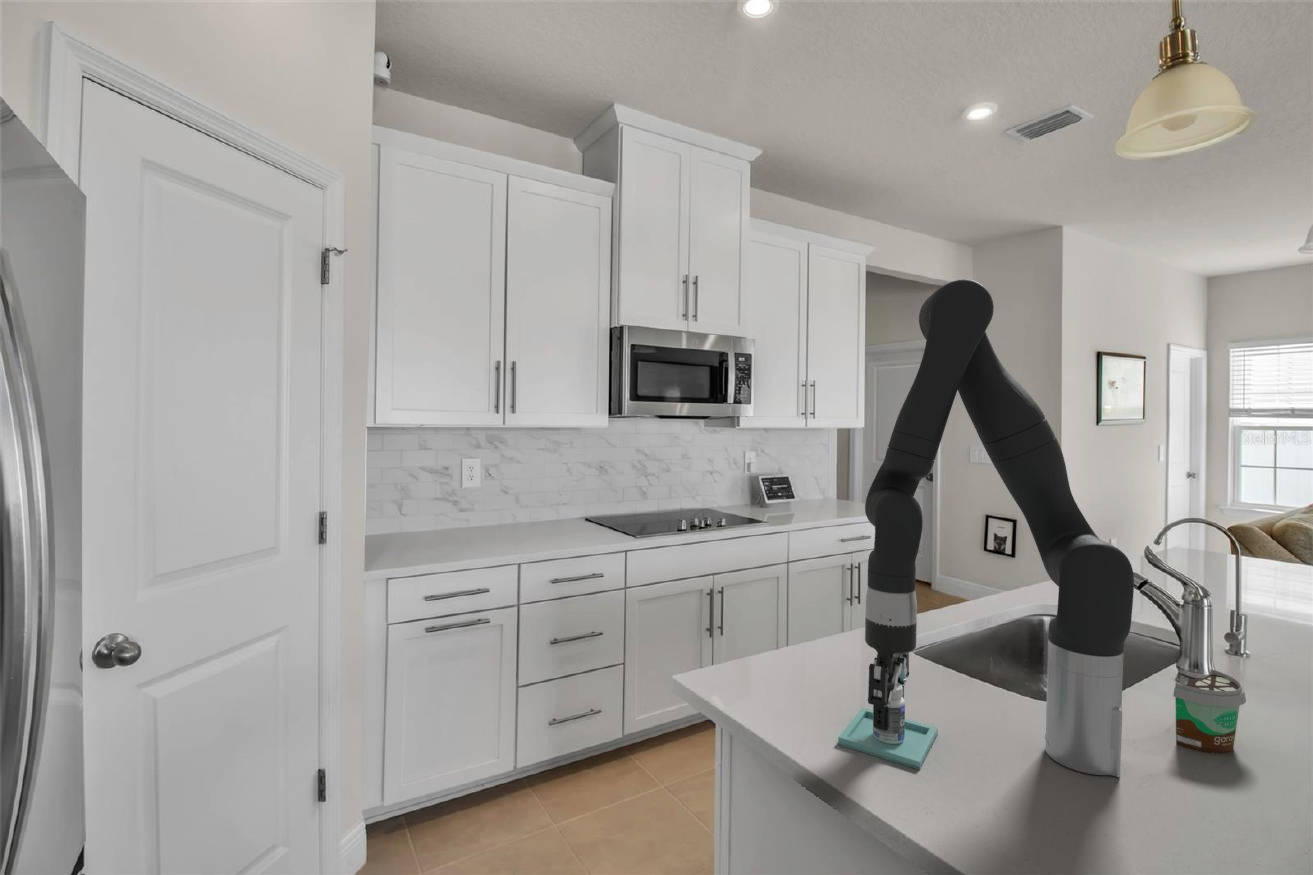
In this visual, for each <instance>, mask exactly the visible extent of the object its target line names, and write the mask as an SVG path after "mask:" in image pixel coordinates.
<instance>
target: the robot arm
mask: <svg viewBox="0 0 1313 875" xmlns="http://www.w3.org/2000/svg"><path fill="white" fill-rule="evenodd" d="M994 306H995V305H994V300H993V297H992V294H991V293H990V291H989V290H988V289H987V288H986V287H985V286H984V285H983V284H981V283H980V282H978V281H976V280H972V279H966V278H965V279H956V280H953V281H950V282H948V283H945V284H944V285H942V286H940V287H939V288H937V289H936V290H935V291H934V292H933V293H931V295H930V296H929V297H927V299H925V301H924V303H923V304H922V305H921V307H920V310H919V313H918V314H919V315H918V325H919V329H920V332H921V334H922V336H923V337H924V339H925V340H926V342H925V347H924V351H923V355H922V358H921V363H920V365H919V368H918V371H917V374H915V378H914V381H913V382H912V385H911V387H910V388H909V389H910V390H909V391H908V393H907V396H906V397H905V399H904V402H903V404H902V406H901V408H900V410H899V413H898V415H897V417H896V418H897V419H896V421H895V424H894V426H893V430H892V433H891V435H890V439H889V442H888V444H887V448H886V452H885V457H884V459H883V462H882V464H881V465H880V467H879V469H878V471H877V473H876V475H875V476H874V479H873V481H872V483H871V485H870V486H869V489H868V492H867V496H866V499H865V505H864V513H865V516H866V518H867V520H868V522H869V523H870V524H871V525H872V526H874V542H873V544H874V545H873V550H872V551H870V553H869V556H868V561H867V590H866V596H865V612H864V613H865V618H864V619H865V621H864V622H865V624H864V625H865V628H864V629H865V631H864V633H865V634H864V641H865V643H866V645H867V646H869V647H870V648H872V649H874V650H875V651H876V653H877V655H876V656H875V657H874V660H873V662H872V663H870V664H869V666H868V689H867V690H868V692H867V695H868V696H867V702H868V704H869V705H872V706H873V705H874V709H873V708H872V710H873V725H874V727H875V728H877V729H881V730H884V731H887V730H888V729H889V717H890V703H891V702H890V701H891V695H892V693H895V692H896V687H897V682H898V683H899V684H901V685H902V687H903V695H902V697H903V699H904V700H905V685H906V683H907V678H909V676H910V653H912V652H914V650H916V648H917V624H918V623H917V622H918V621H917V618H918V617H917V615H918V614H917V613H918V603H917V594H916V575H917V574H916V571H917V570H916V569H917V568H916V565H917V564H916V561H917V557H918V554H919V551H920V544H921V540H922V533H923V523H924V521H923V520H924V519H923V510H922V507H921V505H920V502H919V501H918V500H917V499H916V497H914V496H915V493H916V492H917V489H918V486H919V484H920V482H921V480H922V479H924V478H926V477H928V476H929V474H930V473H931V471H932V469H933V466H934V464H935V460H936V458H937V455H938V451H939V448H940V446H941V445H940V444H941V443H942V439H943V435H944V432H945V429H946V426H947V424H948V420H949V416H950V413H951V411H952V407H953V404H954V401H955V398H956V396H957V392H958V395H959V397H960V399H961V401H962V403H963V405H964V408H965V411H966V412H967V414H968V416H969V419H970V420H971V422H972V425H973V426H974V428H975V431H976V433H977V436H978V438H979V440H980V441H981V443H982V446H983V448H984V450H985V452H986V453H987V455H988V458H989V459H990V461H991V463H992V465H993V467H994V468H995V470H996V471H997V473H998V475H999V476H1000V478H1001V480H1002V482H1003V483H1004V486H1005V487H1006V489H1007V490H1008V492H1009V494H1010V495H1011V497H1012V499H1013V500H1014V502H1015V503H1016V504H1017V506H1018V508H1019V509H1020V511H1021V513H1022V515H1023V517H1024V518H1025V521H1026V523H1027V526H1028V527H1029V529H1030V530H1029V531H1030V532H1031V535H1032V538H1033V540H1034V542H1035V546H1036V548H1037V550H1038V551H1037V552H1038V553H1039V556H1040V559H1041V561H1042V563H1043V566H1044V569H1045V571H1046V573H1047V575H1048V577H1049V579H1051V581H1052V582H1053V583H1054V584H1055V585H1056V586H1058V595H1057V611H1056V612H1057V613H1056V616H1055V617H1054V618H1052V619H1051V620H1050V621H1049V624H1048V634H1047V635H1048V636H1047V637H1048V640H1047V642H1048V644H1047V673H1046V674H1047V675H1046V676H1047V677H1046V706H1045V709H1046V712H1045V734H1044V735H1045V736H1044V740H1045V746H1044V747H1045V748H1044V749H1045V752H1046V754H1047V755H1048V756H1049V757H1050V758H1051V759H1052V760H1053V761H1055V762H1056V763H1059V764H1060V765H1061V766H1064V767H1066V768H1069V769H1071V770H1074V771H1076V772H1080V773H1084V774H1089V775H1095V776H1096V775H1097V776H1113V777H1116V778H1120V777H1121V762H1122V734H1123V733H1122V732H1123V729H1122V728H1123V706H1122V705H1123V704H1122V703H1123V702H1122V700H1123V678H1124V675H1123V674H1124V672H1123V671H1124V650H1125V641H1126V640H1127V637H1128V636H1129V634H1130V631H1131V626H1132V615H1133V603H1134V593H1135V592H1134V590H1135V588H1134V587H1135V586H1134V585H1135V578H1134V577H1135V576H1134V570H1133V566H1132V563H1131V561H1130V560H1129V558H1128V556H1127V555H1126V554H1125V553H1124V552H1123V551H1122V550H1120V549H1119V548H1118V547H1116V546H1115V545H1112V544H1110V543H1109V542H1106V541H1104V540H1102V539H1101V538H1100V537H1099V536H1098V535H1097V534H1096V533H1095V531H1094V529H1092V527H1091V526H1090V524H1089V523H1088V521H1087V519H1086V517H1085V516H1084V515H1083V512H1082V511H1081V509H1080V507H1079V506H1078V503H1077V502H1076V501H1075V498H1074V496H1073V493H1072V490H1071V487H1070V482H1069V477H1068V471H1067V466H1066V462H1065V457H1064V454H1063V450H1062V448H1061V446H1060V443H1059V441H1058V439H1057V436H1056V435H1055V433H1054V431H1053V428H1052V427H1051V425H1050V423H1049V421H1048V420H1047V417H1046V415H1045V414H1044V413H1043V411H1042V409H1041V407H1040V406H1039V405H1038V403H1037V402H1036V401H1035V399H1034V398H1033V397H1032V396H1031V395H1030V394H1029V392H1028V391H1027V390H1026V389H1025V388H1024V387H1023V386H1022V384H1020V383H1019V382H1018V381H1017V380H1016V379H1015V377H1014V376H1012V375H1011V373H1010V372H1009V371H1008V370H1007V369H1006V367H1004V365H1003V364H1002V362H1001V361H1000V359H999V358H998V356H997V354H996V352H995V350H994V348H993V346H992V343H991V342H990V339H989V337H988V334H987V332H986V331H987V329H988V328H989V325H990V323H991V321H992V319H993V316H994V308H995V307H994ZM888 683H890V685H887V684H888ZM878 691H881V692H882V697H879V696H878Z"/></svg>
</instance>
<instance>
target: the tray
mask: <svg viewBox="0 0 1313 875" xmlns="http://www.w3.org/2000/svg"><path fill="white" fill-rule="evenodd" d="M938 731H939V729H938V727H937V726H934V725H929V724H926V723H922V722H917V721H915V720H911V719H907V718H905V738H904V741H903V742H902V743H899V744H888V743H884V742H881V741H879V740H877V739H876V738H875V737H874V735H873V709H870V708H866V707H863V706H862V707H861V708H860V710H858V711H857V713H856V714H855V716H854V717H853V719H851V721H850V722H849V723H848V724H847V725H846V727H845V728H844V730H842V732H841V733H840V734H839V736H838V737H837V744H838V745H839V746H842V747H845V748H847V749H851V750H854V751H858V752H860V753H863V754H867V755H871V756H874V757H877V758H880V759H883V760H887V761H890V762H893V763H895V764H899V765H902V766H906V767H909V768H912V769H915V770H919V771H920V770H921V769H922V766H923V765H924V762H925V761H926V758H927V757H928V755H929V753H930V751H931V750H932V749H931V748H932V747H933V745H934V743H935V741H936V739H937V737H938Z"/></svg>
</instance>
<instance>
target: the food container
mask: <svg viewBox="0 0 1313 875" xmlns="http://www.w3.org/2000/svg"><path fill="white" fill-rule="evenodd" d="M1209 671H1210V673H1209V674H1208V675H1206V676H1205V677H1201V678H1200V677H1198V678H1194V679H1193V680H1191V681H1190V682H1189V683H1187V684H1185V685H1184V684H1181V683H1177V682H1175V686H1174V690H1173V695H1172V696H1173V697H1174V698H1175V738H1176V739H1175V744H1176V746H1179V747H1182V748H1185V749H1188V750H1192V751H1195V752H1199V753H1205V754H1211V755H1227V754H1231V753H1232V752H1233V750H1234V745H1235V738H1236V731H1237V724H1238V718H1239V712H1240V706H1242V705H1244V704H1246V702H1247V698H1246V694H1245V690H1244V688H1243V687H1242V684H1241V682H1240V681H1238V679H1236V678H1235V677H1233V676H1231V675H1229V674H1227V673H1224V672H1221V671H1219V670H1215V669H1212V668H1210V670H1209Z"/></svg>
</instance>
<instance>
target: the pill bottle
mask: <svg viewBox="0 0 1313 875" xmlns="http://www.w3.org/2000/svg"><path fill="white" fill-rule="evenodd" d="M887 685H890V683H888V684H887ZM902 695H903V687H902V685H901V684H899V683H898V682H897V687H896V692H895V693H892V695H891V701H890V702H891V703H890V717H889V729H888V730H887V731H884V730H881V729H877V728H875V727H874V725H873V735H874V737H875V738H876V739H877V740H879V741H881V742H884V743H888V744H899V743H902V742H903V741H904V738H905V719H906V702H905V698H904V699H903V697H902ZM878 696H879V697H882V692H881V691H878ZM873 709H874V705H872V710H873Z"/></svg>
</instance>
